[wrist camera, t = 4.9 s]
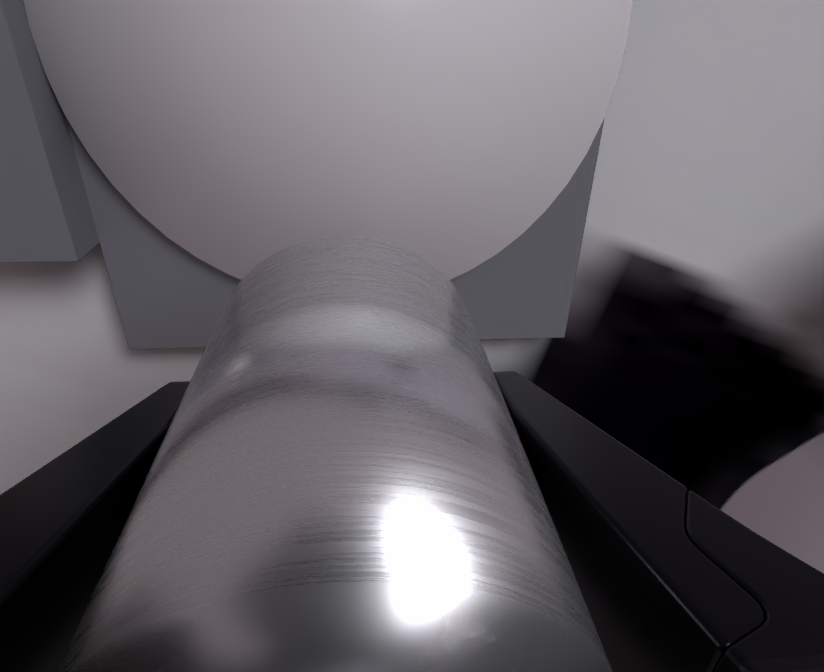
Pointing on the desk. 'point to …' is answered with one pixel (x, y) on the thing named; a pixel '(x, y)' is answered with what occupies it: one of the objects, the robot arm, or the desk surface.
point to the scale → (305, 144)
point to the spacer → (340, 494)
